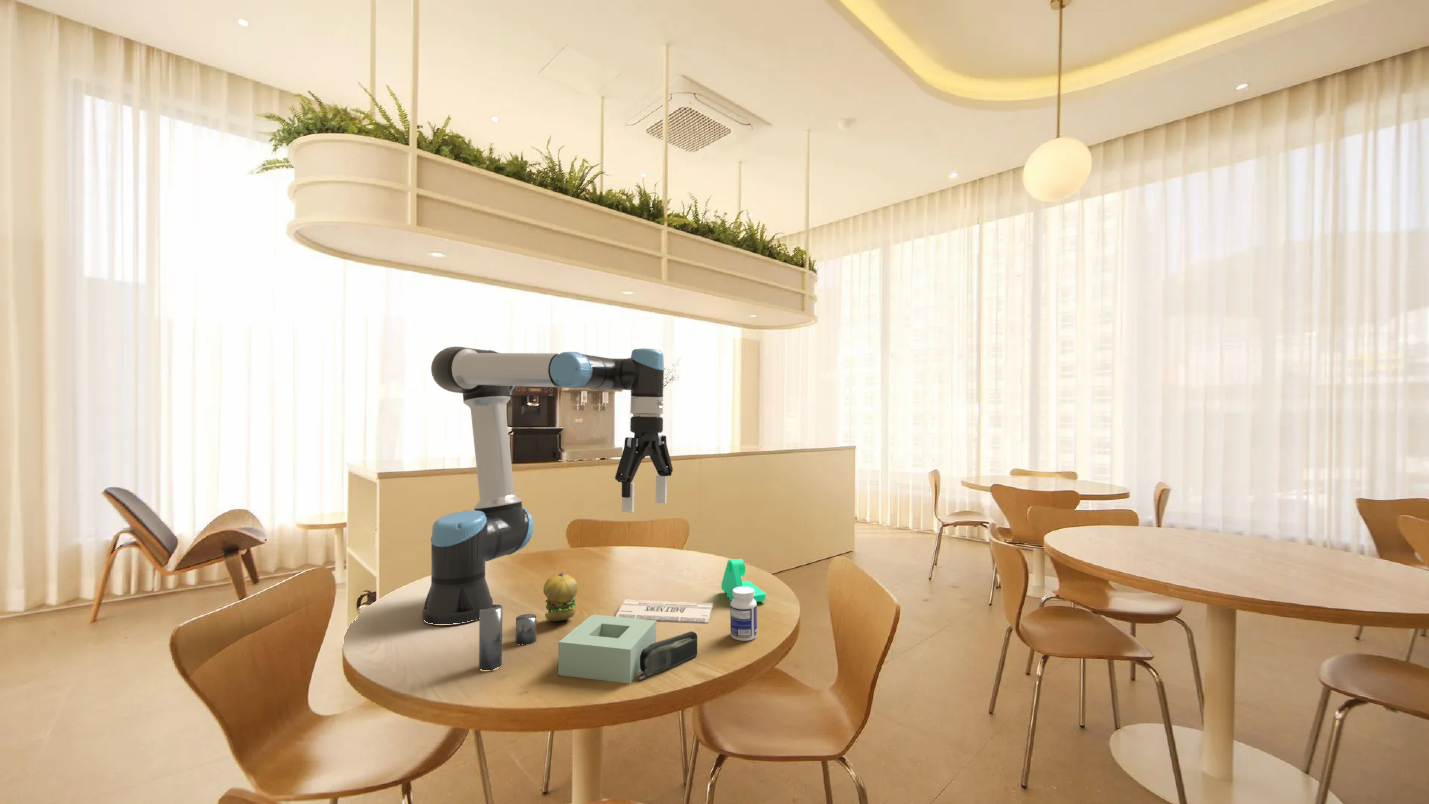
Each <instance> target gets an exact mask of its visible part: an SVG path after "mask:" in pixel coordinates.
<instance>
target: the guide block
mask: <svg viewBox="0 0 1429 804" xmlns="http://www.w3.org/2000/svg"><path fill="white" fill-rule="evenodd" d="M655 642H657V621H656V620H646V619H635V618H624V617H616V616H613V615H611V616H610V615H601V614H591V615H590V616H588V617H587V618H586V619H585V620H583V622H581V623H579V625H577V627H575V628H573V630H571V631H570V632H569V633H568V634H566V635H565V636H564V637H562V639H560V640H559V641H558V644H557V645H558V646H557V647H558V648H557V649H558V653H557V655H558V656H557V657H558V659H557V661H558V662H557V664H558V667H557V668H558V670H557V672H558V673H557V674H558V676H563V677H572V678H579V679H588V680H589V679H590V680H596V681H597V680H598V681H605V682H613V683H623V684H630V685H631V684H632V682H633V681H634V680H635V679H636V677H638V674H639V673H640V672H641V669H640V655H641V652H642V651H643V650H644V649H645V648H647V647H648V646H649V645H650V644H652V643H655Z"/></svg>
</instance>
